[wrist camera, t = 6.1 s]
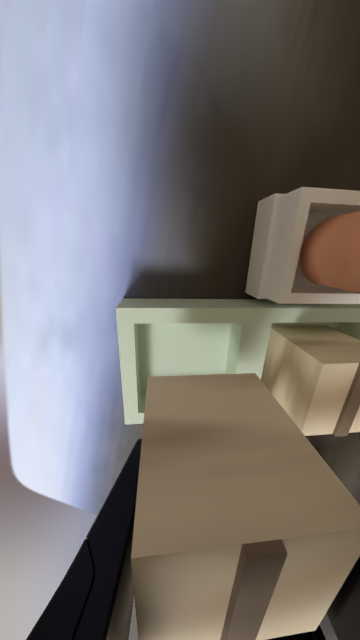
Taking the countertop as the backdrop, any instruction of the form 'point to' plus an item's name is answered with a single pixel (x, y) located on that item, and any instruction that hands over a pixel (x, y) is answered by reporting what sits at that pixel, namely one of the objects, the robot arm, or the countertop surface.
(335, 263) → the button
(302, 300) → the button housing
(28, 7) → the countertop surface
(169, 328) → the pale green divided tray
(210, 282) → the countertop surface
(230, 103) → the countertop surface
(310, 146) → the countertop surface
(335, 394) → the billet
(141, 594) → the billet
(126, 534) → the robot arm
